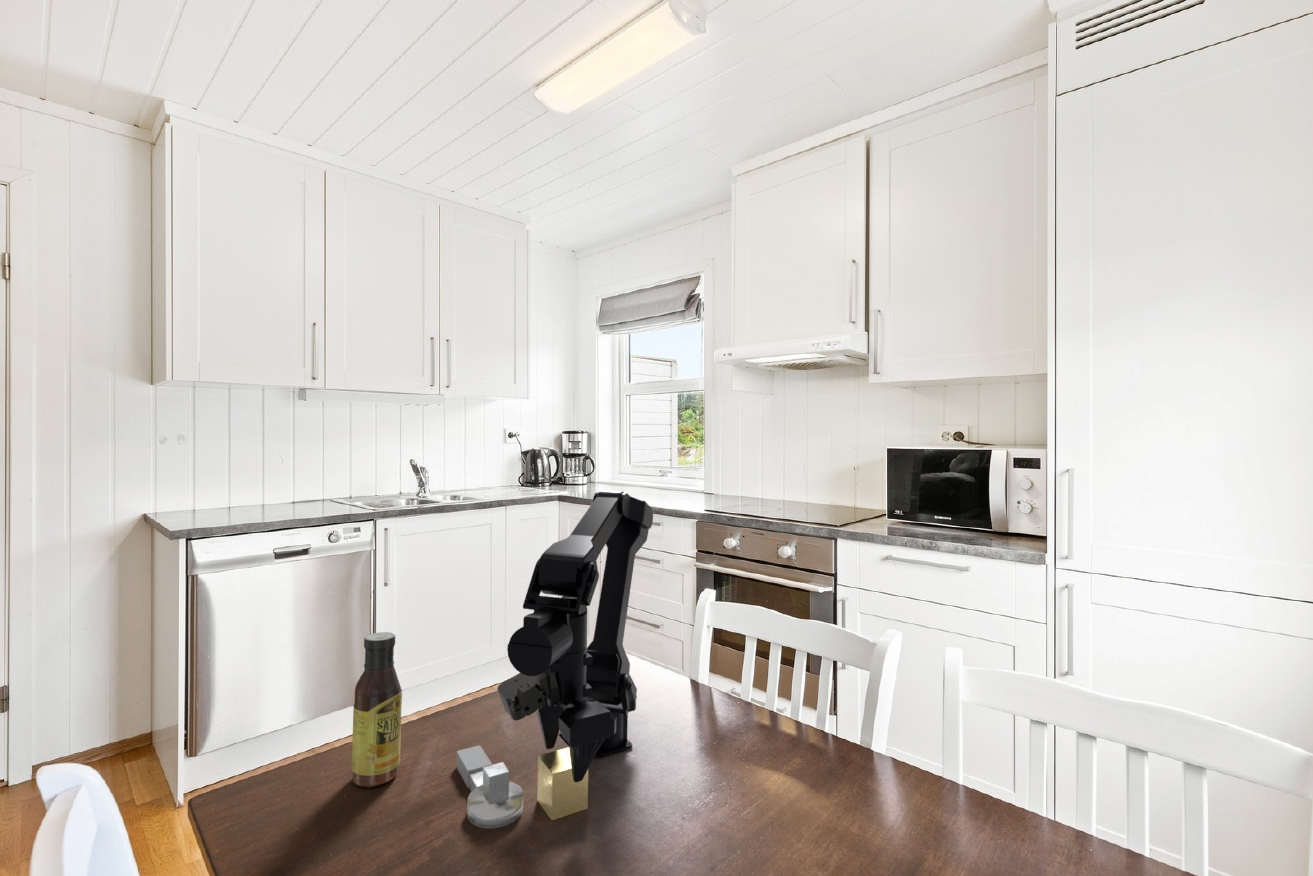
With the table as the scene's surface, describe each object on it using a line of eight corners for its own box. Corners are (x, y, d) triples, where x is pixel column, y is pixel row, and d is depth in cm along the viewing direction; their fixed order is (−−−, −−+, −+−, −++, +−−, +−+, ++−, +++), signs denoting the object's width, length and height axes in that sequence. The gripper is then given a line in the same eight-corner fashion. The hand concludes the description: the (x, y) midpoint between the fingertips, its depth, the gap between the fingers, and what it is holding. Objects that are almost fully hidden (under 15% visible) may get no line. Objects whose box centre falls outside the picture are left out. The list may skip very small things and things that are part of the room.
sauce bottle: (381, 793, 85) (383, 646, 84) (341, 786, 86) (342, 642, 85) (410, 767, 91) (411, 631, 91) (371, 761, 92) (373, 627, 92)
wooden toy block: (571, 789, 86) (572, 746, 86) (587, 808, 82) (588, 763, 82) (537, 800, 84) (538, 755, 84) (551, 820, 79) (552, 773, 79)
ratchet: (531, 817, 80) (531, 775, 80) (476, 835, 76) (476, 791, 76) (491, 758, 94) (492, 721, 94) (443, 771, 90) (444, 733, 90)
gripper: (483, 635, 86) (481, 748, 87) (532, 685, 70) (530, 822, 71) (558, 623, 92) (557, 728, 92) (619, 666, 76) (617, 793, 77)
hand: (563, 764), depth 83 cm, fingers open, 9 cm apart
